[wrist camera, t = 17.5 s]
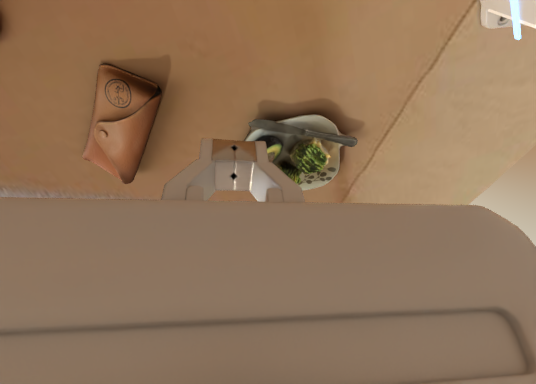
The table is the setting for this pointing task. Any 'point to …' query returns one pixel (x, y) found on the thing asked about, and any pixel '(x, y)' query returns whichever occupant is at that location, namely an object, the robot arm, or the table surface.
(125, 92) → the sunglasses case
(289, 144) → the salad plate
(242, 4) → the table surface
